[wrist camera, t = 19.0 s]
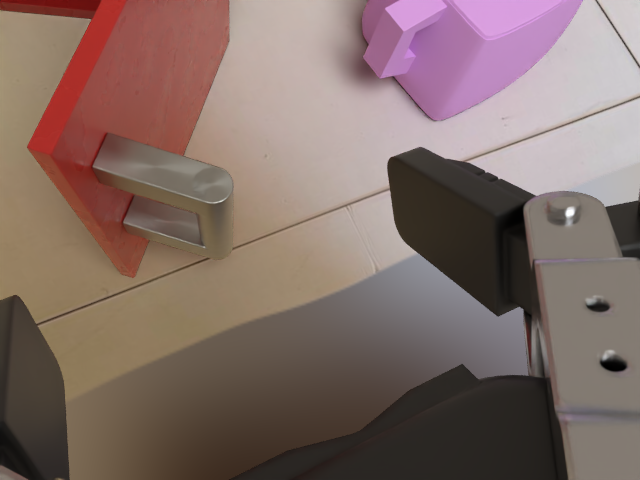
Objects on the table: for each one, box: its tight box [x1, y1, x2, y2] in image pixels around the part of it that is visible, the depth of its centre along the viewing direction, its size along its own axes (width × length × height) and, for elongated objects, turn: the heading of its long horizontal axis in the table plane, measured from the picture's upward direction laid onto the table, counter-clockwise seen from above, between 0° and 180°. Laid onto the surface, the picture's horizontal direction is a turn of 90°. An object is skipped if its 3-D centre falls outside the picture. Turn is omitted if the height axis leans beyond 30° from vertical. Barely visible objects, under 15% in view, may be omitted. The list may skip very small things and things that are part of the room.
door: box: [27, 0, 233, 278], centre depth 29 cm, size 6×18×16 cm, turn 165°
